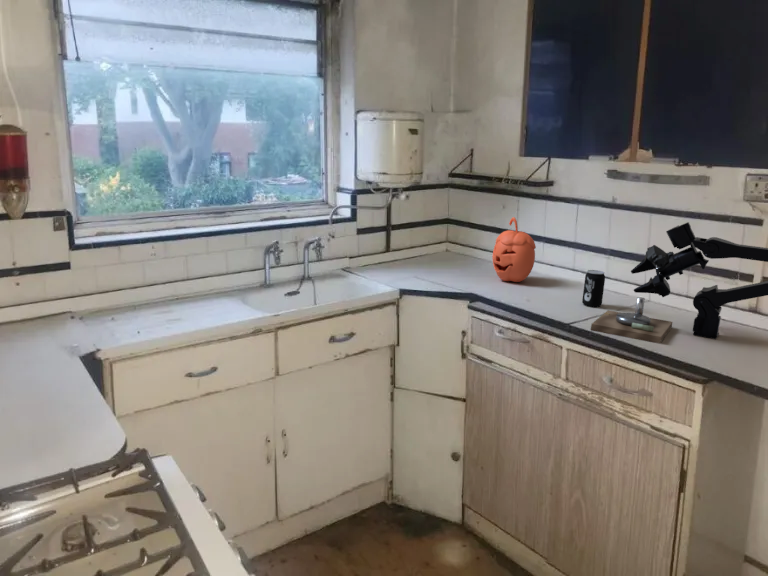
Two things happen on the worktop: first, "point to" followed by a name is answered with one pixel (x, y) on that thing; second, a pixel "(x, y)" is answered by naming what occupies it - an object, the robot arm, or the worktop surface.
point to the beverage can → (593, 288)
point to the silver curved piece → (634, 315)
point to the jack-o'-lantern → (513, 254)
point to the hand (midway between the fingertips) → (632, 281)
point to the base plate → (632, 328)
